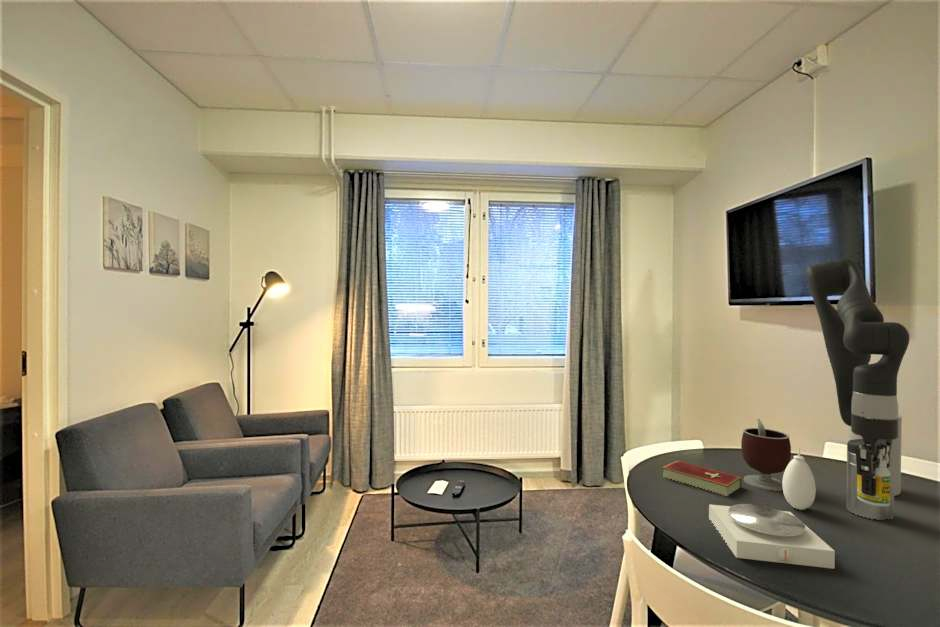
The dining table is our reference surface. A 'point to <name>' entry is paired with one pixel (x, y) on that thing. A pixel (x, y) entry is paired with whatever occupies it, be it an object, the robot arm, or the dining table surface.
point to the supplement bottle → (877, 487)
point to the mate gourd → (765, 455)
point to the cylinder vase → (891, 458)
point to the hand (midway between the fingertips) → (873, 491)
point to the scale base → (771, 543)
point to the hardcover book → (702, 477)
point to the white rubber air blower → (799, 483)
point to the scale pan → (767, 520)
